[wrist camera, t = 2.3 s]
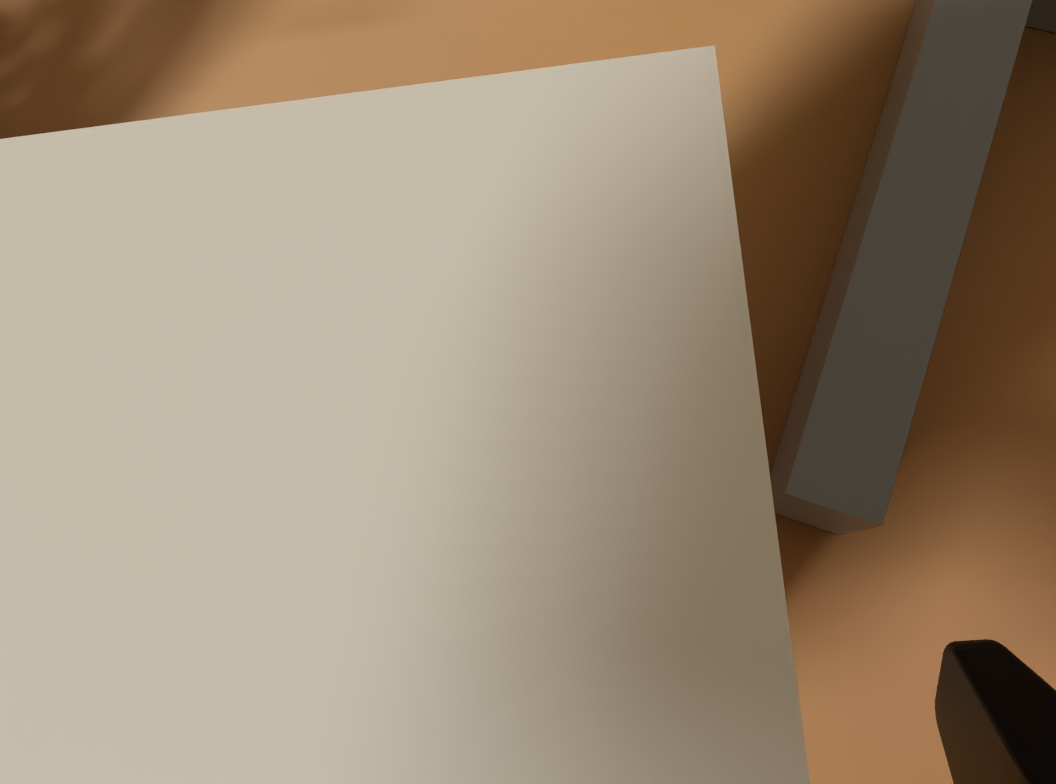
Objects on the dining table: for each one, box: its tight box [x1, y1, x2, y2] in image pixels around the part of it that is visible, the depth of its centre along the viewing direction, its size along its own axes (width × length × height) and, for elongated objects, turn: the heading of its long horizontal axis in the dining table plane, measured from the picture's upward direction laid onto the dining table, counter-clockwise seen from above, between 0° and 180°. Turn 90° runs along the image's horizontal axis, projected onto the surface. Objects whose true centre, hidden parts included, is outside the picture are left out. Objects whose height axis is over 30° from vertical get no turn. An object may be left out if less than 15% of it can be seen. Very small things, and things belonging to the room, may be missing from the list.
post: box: [0, 45, 810, 784], centre depth 11 cm, size 5×5×13 cm
